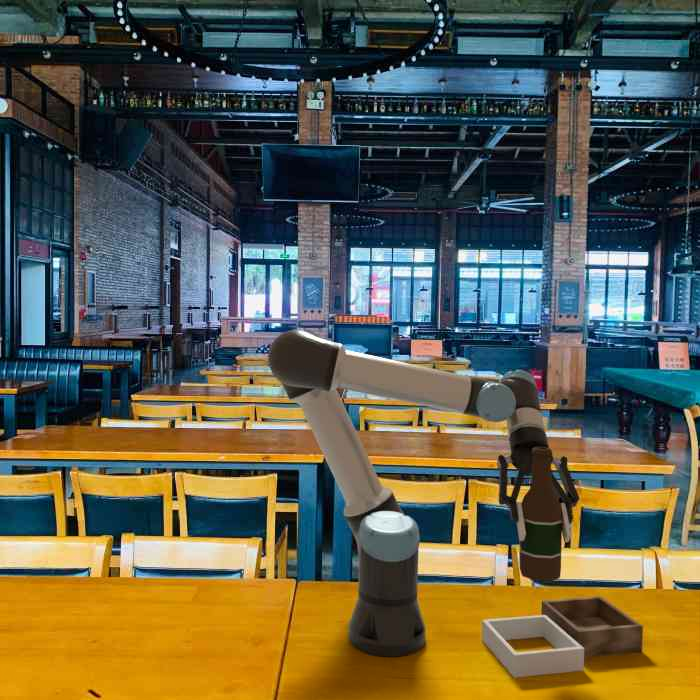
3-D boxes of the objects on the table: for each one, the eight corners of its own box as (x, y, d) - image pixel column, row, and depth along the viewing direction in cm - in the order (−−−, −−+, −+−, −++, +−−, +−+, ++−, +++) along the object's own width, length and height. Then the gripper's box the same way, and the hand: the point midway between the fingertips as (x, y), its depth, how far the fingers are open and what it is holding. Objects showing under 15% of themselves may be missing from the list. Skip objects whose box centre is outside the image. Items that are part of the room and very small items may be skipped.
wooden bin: (578, 658, 117) (578, 631, 117) (541, 624, 130) (541, 600, 130) (642, 651, 120) (642, 626, 120) (599, 619, 133) (600, 596, 133)
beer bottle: (524, 563, 124) (527, 442, 123) (565, 572, 120) (568, 446, 119) (513, 576, 117) (515, 448, 116) (555, 586, 113) (558, 453, 112)
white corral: (513, 677, 110) (514, 655, 110) (481, 640, 123) (482, 620, 123) (583, 670, 113) (584, 648, 113) (544, 634, 126) (545, 614, 126)
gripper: (572, 446, 132) (596, 549, 117) (475, 444, 134) (486, 545, 118) (581, 425, 127) (607, 530, 111) (479, 423, 128) (491, 526, 112)
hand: (545, 538), depth 115 cm, fingers closed on beer bottle, 7 cm apart
